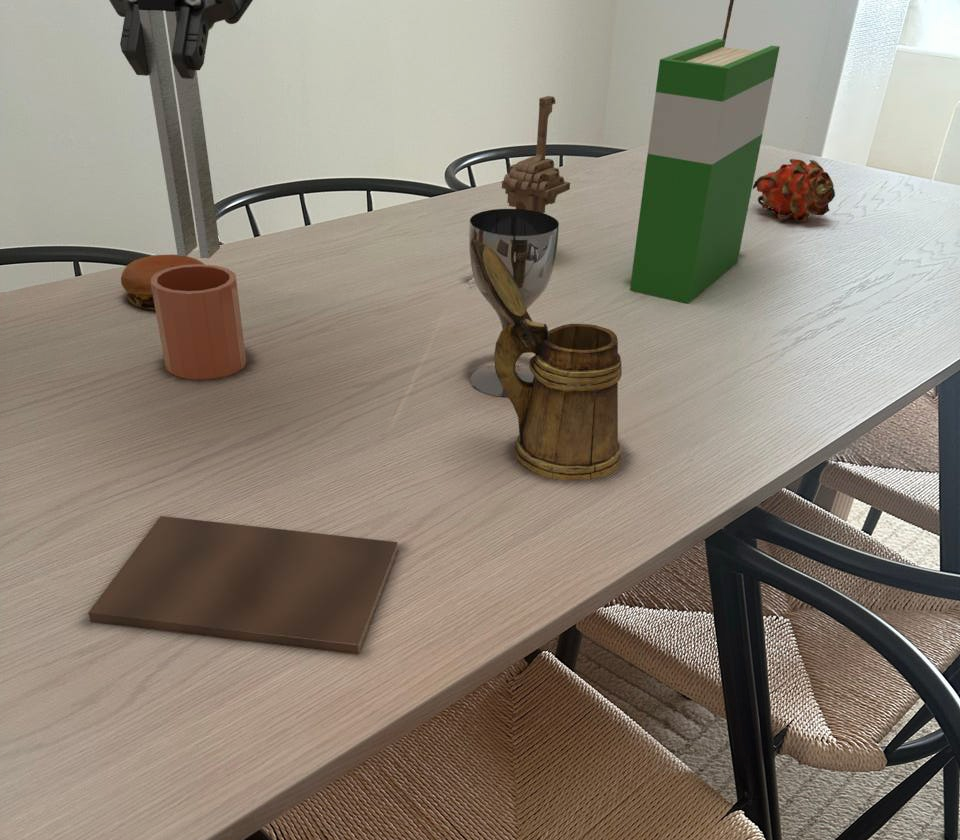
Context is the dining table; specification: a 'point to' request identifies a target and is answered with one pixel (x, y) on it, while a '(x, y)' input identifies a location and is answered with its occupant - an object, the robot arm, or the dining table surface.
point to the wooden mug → (555, 383)
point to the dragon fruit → (796, 190)
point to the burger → (148, 276)
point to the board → (250, 584)
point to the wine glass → (515, 267)
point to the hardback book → (700, 167)
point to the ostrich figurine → (535, 173)
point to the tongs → (179, 133)
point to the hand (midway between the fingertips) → (160, 68)
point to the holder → (199, 321)
